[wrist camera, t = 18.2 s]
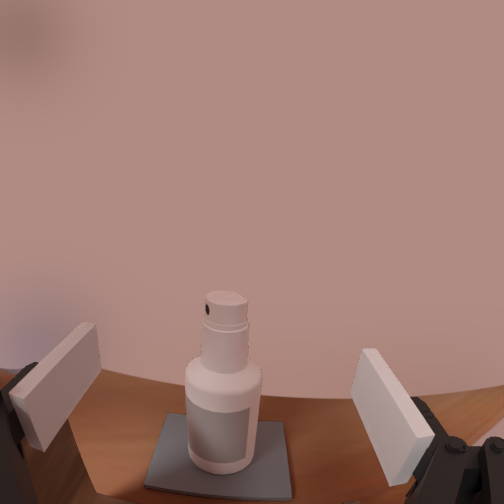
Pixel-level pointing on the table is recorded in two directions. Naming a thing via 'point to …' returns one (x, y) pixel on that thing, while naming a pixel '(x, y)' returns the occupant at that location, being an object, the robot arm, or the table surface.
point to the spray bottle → (223, 389)
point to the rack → (66, 473)
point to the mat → (215, 485)
